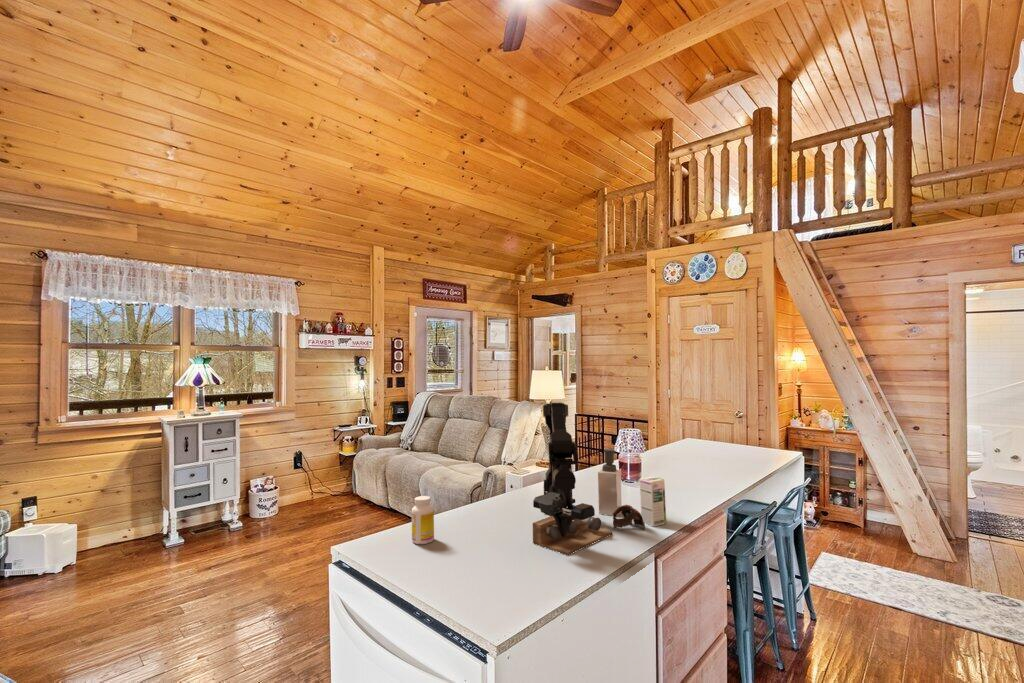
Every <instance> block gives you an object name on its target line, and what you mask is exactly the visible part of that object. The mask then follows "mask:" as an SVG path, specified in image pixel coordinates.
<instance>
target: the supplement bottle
mask: <svg viewBox="0 0 1024 683" xmlns="http://www.w3.org/2000/svg"><path fill="white" fill-rule="evenodd" d="M430 503H431V497H430V496H429V495H420V496H417V497H416V496H415V498H414V504H415V505H414V506H413V507H412V509H411V540H412V542H413V544H417V545H426V544H430V543H432V542H433V541H434V539H435V521H434V518H435V517H434V511H435V510H434V507H433V506H432V504H430Z"/></svg>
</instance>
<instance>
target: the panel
mask: <svg viewBox="0 0 1024 683" xmlns="http://www.w3.org/2000/svg"><path fill="white" fill-rule="evenodd" d="M573 520H574V521H575V518H574V519H573ZM577 523H578V530H577V532H576V533H575V534H571V533H568V532H567V534H566V536H565V537H562V539H561V540H555V539H552V538H550V536H549V534H548V533H546V526H547V527H551V526H552V525H556V526H558V525H557V523H556V520H555V518H554V517H553V516H551V515H549V516H548V517H545V518H542V519H540V520H537V521H534V522H532V544H533V543H534V544H533V545H536V544H537V545H536V546H538V545H540V546H539V547H541V546H542V548H544V547H546V548H545V549H547V548H549V549H548V550H550V549H551V551H553V550H554V551H553V552H556V551H557V552H556V553H558V552H560V553H559V554H561V553H563V554H562V555H564V554H566V555H565V556H567V555H568V556H570V555H572V554H574V553H576V552H575V551H577V550H579V549H581V548H583V547H585V548H587V547H589V546H591V545H593V544H592V543H594V542H596V541H598V540H600V541H602V540H604V539H606V538H608V537H610V536H612V535H613V531H611V530H607V529H603V528H600V529H599V530H598V531H595V530H592V529H589V528H588V525H587V524H583V523H580V522H577ZM609 535H610V536H609ZM607 536H608V537H607ZM605 537H606V538H605ZM603 538H604V539H603ZM601 539H602V540H601ZM598 542H599V541H598ZM596 543H597V542H596ZM590 544H591V545H590ZM594 544H595V543H594ZM588 545H589V546H588ZM586 546H587V547H586ZM583 549H584V548H583ZM581 550H582V549H581ZM579 551H580V550H579ZM573 552H574V553H573ZM577 552H578V551H577ZM571 553H572V554H571ZM569 554H570V555H569Z"/></svg>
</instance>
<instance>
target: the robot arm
mask: <svg viewBox="0 0 1024 683" xmlns="http://www.w3.org/2000/svg"><path fill="white" fill-rule="evenodd" d="M568 416H569V405H568V404H565V402H549V403H548V402H547V403H545V404H544V405H542V418H544V420H545V425H546V426H547V428H548V429H549V442H547V443H548V444H547V449H548V450H547V452H548V453H547V454H548V464H549V467H548V469H547V471H546V472H545V479H543V494H541V495H538V496H535V497H534V499H533V500H532V504H533V508H535V509H539V510H540V512H541V513H542V514H544V513H545V514H544V515H547V514H548V516H551V515H552V516H553V517H554V518H555V520H556V523H557V525H558V528H559V531H560V534H561V536H562V537H565V536H566V534H567V532H568V529H569V527H570V525H571V522H572V520H573V519H574V518H575V519H579V520H585V519H587V518H588V519H589V518H590V517H592V516H593V517H596V516H595V515H596V514H595V513H596V512H595V507H594V506H593V505H591V504H588V503H584V502H582V503H580V504H576V505H575V503H576V498H573V490H575V489H576V482H577V480H576V476H575V474H574V472H573V470H572V469H573V468H572V467H573V466H572V465H577V461H578V460H579V457H578V456H579V455H578V446H577V445H576V442H575V441H573V439H572V438H573V437H572V434H570V433H569V432H568V431H567V426H566V423H567V418H568Z"/></svg>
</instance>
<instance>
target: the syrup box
mask: <svg viewBox="0 0 1024 683" xmlns="http://www.w3.org/2000/svg"><path fill="white" fill-rule="evenodd" d="M639 496H640V514H641V516H642V518H643V521H644V524H645V523H646V524H645V525H647V524H648V525H647V526H650V525H651V527H652V528H654V527H656V526H657V527H658V526H661V525H666V524H667V510H666V487H665V479H663V478H662V477H661V478H660V477H656V476H649V477H644V478H641V477H640V478H639Z"/></svg>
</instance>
